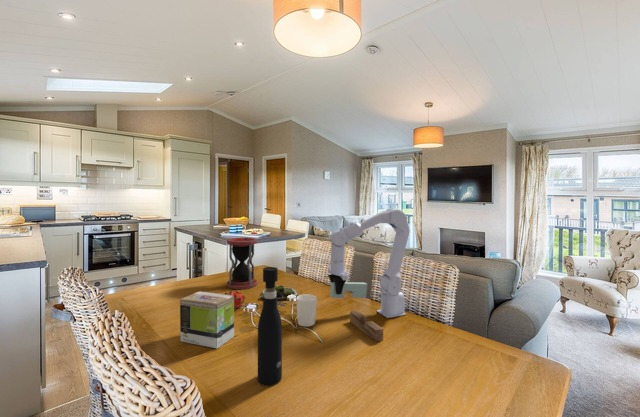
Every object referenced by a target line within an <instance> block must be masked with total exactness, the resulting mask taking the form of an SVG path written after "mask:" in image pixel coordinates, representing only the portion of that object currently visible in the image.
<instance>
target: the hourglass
mask: <svg viewBox="0 0 640 417" xmlns="http://www.w3.org/2000/svg"><path fill="white" fill-rule="evenodd" d="M257 243H258V239H257V238H255V237H233V238H227V239H226V244H228V245H229V252H228V253H229V254H228V256H229V259H230V261H231V267H230V268H229V272H228V273H229V274H228V275H229V276H228V279H229V280H227V282H226V287H227V288H228V289H231V290H246V289H252V288H255V287H257V285H258V280H257V279H255V266H254V263H253V258H254V256H255V244H257ZM232 255H233V256H232ZM233 257H234V259H233ZM245 262H246V263H245ZM250 265H251V266H250Z"/></svg>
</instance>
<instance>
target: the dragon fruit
mask: <svg viewBox="0 0 640 417" xmlns="http://www.w3.org/2000/svg"><path fill="white" fill-rule="evenodd" d="M224 294H226V295H234V311H235V310H237V309H238V308H239V309H240V308H241V307H242V306H243V303H244V302H245V299H246V297H245V296H244V294H243V293H242V292H239V291H238V289H235V290H234V291H233V290H230V291H229V292H228V291H227V292H224Z"/></svg>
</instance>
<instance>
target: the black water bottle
mask: <svg viewBox="0 0 640 417" xmlns="http://www.w3.org/2000/svg"><path fill="white" fill-rule="evenodd" d="M278 274H279V272H278V267H275V266H267V267H264V268H262V282H264V283H265V286H264V288H265V289H264V290H265V292H264V297H263V298H262V310H261V313H260V315H259V318H258V323H257V382H258V383H259V384H260V385H262V386H267V387H271V386H274V385H277V384H279V382H281V381H282V376H283V375H282V374H283V370H282V369H283V368H282V367H283V364H282V363H283V324H282V318H281V315H280V314H281V313H280V312H279V309H278V301H277V296H276V293H277V292H276V290H275V286H276V283H277V282H278V279H279V278H278V276H279V275H278Z"/></svg>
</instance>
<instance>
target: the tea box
mask: <svg viewBox="0 0 640 417" xmlns="http://www.w3.org/2000/svg"><path fill="white" fill-rule="evenodd" d="M179 308H180V309H179V320H180V322H179V323H180V324H179V325H180V326H179V330H180V332H179V334H180V335H179V336H180V341H179V342H183V343H187V344H193V345H197V346H202V347H206V348H213V349H218V348H220V347H222V346H223V345H225V344H226V343H227V342H228V341H230V340H231V339H233V338H234V337H235V309H234V295H226V294H225V293H218V292H217V293H216V292H209V291H201V290H199V291H197V292H194V293H192V294H190V295H187V296H185V297H182V298H180V299H179Z"/></svg>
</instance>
